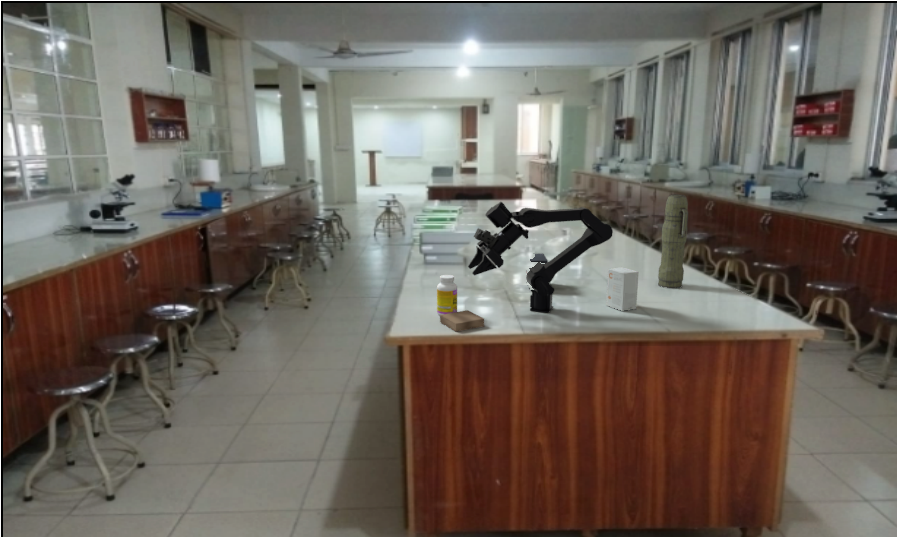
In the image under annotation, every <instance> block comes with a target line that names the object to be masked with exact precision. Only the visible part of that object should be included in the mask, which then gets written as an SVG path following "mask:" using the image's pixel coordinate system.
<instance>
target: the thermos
mask: <svg viewBox="0 0 897 537" xmlns="http://www.w3.org/2000/svg"><path fill="white" fill-rule="evenodd" d="M688 206H689V202H688V199H687V196H686V195H684V194H670V195H668V197H667V200H666V202H665V209H664V214H663V225H662V227H661V228H662V230H661V241H662V244H661V246H662V247H661V256H660V257H661V258H660V259H661V260H660V265H659V268H658V275H657V277H658V283H657V285H658V286H659V287H661V286H662V287H661V288H664V287H667V288H666V289H679V288H678V287H681V286H682V287H683V280H684V274H685V273H684V272H685V270H684V267H683V266H684V265H683V264H684V254H685V244H686V242H687V236H688V223H689V222H688V220H689V211H688ZM682 287H681V288H682Z"/></svg>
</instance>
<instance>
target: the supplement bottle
mask: <svg viewBox="0 0 897 537" xmlns="http://www.w3.org/2000/svg"><path fill="white" fill-rule="evenodd" d="M454 282H455V276H454V275H452V274H442V275H440V276H439V283H438V284H437V286H436V314H437V315H438V316H439V317H440V315H443V314H448V313H454V312H458V285H457V284H456V283H454Z"/></svg>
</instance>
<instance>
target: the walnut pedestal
mask: <svg viewBox="0 0 897 537" xmlns="http://www.w3.org/2000/svg"><path fill="white" fill-rule="evenodd" d="M440 322H441V323H440ZM439 323H440V324H441V325H444V326H445V325H446V326H445V327H447V328H448V329H450V328H451V329H450V330H453V331H454V332H461V331H467V330H473V329H477V328H478V329H479V328H481V327H482V328H484V327H485V318H484V317H481V316H480V315H478V314H476V313H474V312H473V311H470V310H468V309H466V310H461V311H457V312H454V313H448V314H443V315H440V316H439Z"/></svg>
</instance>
